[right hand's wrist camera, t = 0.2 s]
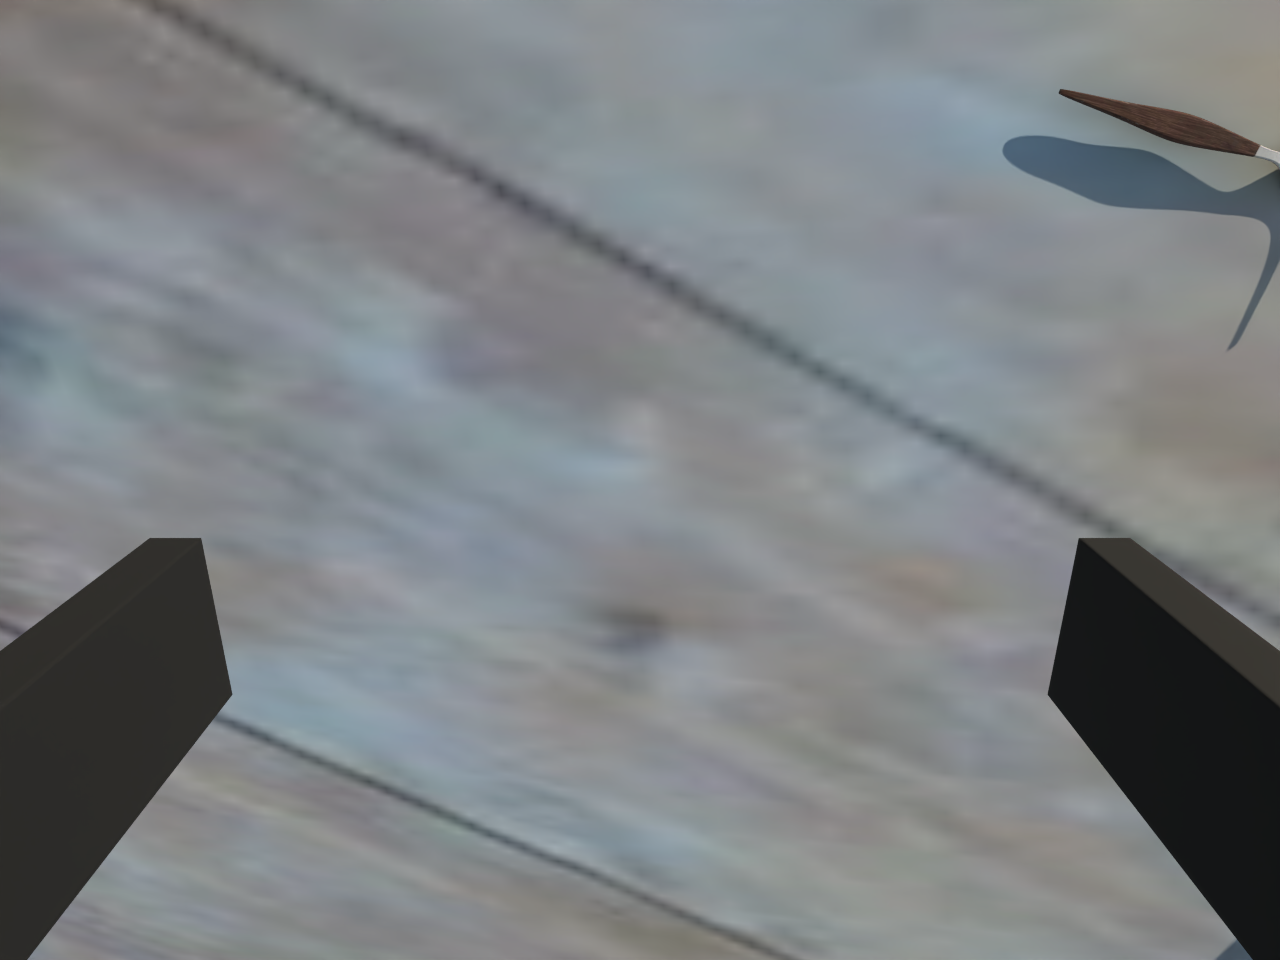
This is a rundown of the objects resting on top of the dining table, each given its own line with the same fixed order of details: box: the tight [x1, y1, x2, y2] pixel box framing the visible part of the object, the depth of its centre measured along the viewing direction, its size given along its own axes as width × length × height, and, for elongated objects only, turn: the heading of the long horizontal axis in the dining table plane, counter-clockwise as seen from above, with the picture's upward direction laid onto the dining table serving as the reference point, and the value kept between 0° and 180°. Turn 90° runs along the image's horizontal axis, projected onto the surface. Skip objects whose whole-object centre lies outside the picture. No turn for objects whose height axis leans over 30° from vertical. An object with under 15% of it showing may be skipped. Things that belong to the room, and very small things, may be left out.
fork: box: [1059, 89, 1280, 169], centre depth 35 cm, size 3×16×2 cm, turn 75°
